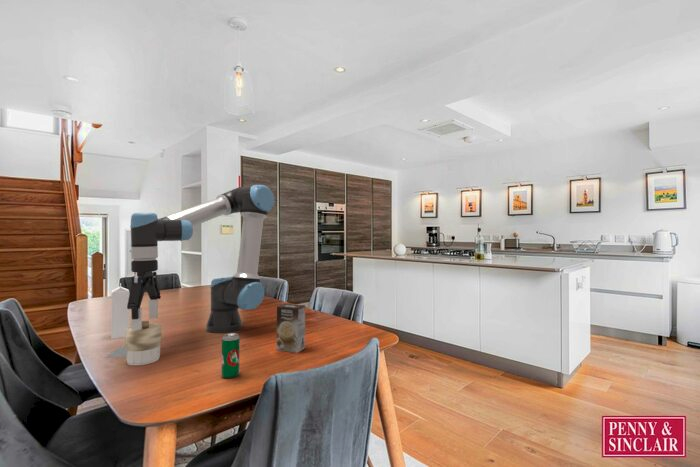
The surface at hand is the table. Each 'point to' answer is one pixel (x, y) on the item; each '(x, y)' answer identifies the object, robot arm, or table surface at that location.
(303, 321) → the coffee box
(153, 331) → the beige round piece
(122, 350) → the mat
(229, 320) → the robot arm
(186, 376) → the table surface
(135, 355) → the bowl
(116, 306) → the milk
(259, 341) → the table surface
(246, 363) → the table surface
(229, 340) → the soda can
